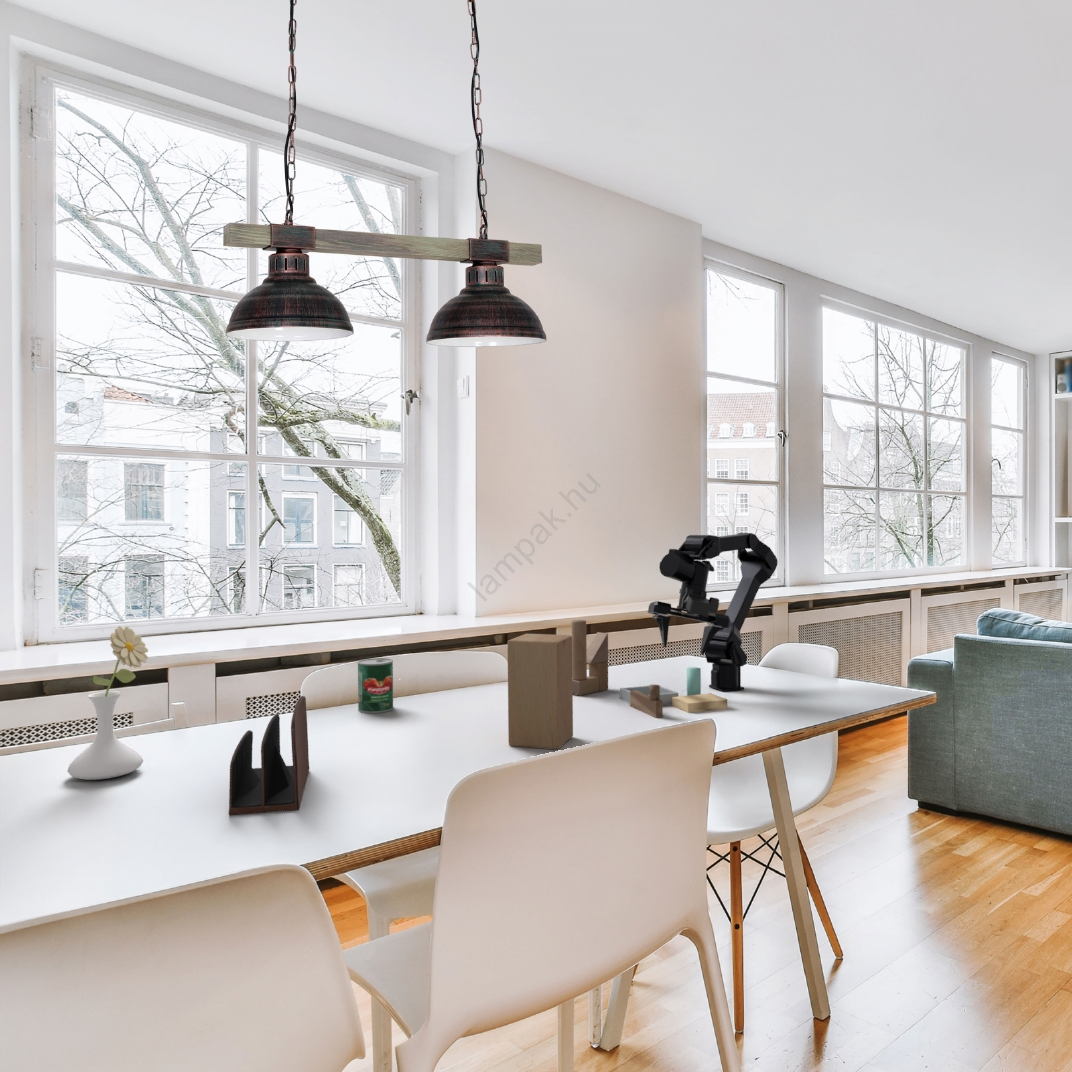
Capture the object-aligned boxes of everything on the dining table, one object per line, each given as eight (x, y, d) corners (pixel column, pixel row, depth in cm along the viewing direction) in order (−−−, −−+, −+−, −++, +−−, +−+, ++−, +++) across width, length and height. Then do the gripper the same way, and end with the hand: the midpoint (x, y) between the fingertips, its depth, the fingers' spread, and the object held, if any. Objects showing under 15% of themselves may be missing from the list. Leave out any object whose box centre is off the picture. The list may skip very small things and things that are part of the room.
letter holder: (309, 771, 141) (308, 689, 140) (299, 811, 121) (297, 716, 121) (248, 775, 139) (247, 692, 138) (228, 817, 119) (226, 720, 119)
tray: (657, 695, 198) (657, 684, 198) (678, 703, 188) (678, 692, 188) (619, 698, 194) (619, 688, 194) (639, 707, 185) (639, 696, 185)
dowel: (696, 696, 196) (695, 666, 196) (703, 698, 193) (703, 669, 193) (684, 697, 195) (684, 667, 195) (691, 699, 192) (691, 670, 192)
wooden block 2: (608, 689, 205) (608, 617, 205) (579, 696, 197) (579, 621, 197) (597, 687, 208) (597, 616, 207) (568, 694, 200) (568, 620, 200)
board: (710, 704, 190) (710, 693, 189) (727, 710, 183) (727, 699, 183) (672, 708, 186) (672, 697, 186) (687, 714, 180) (687, 703, 180)
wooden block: (573, 736, 161) (572, 634, 160) (558, 750, 151) (557, 642, 151) (525, 733, 164) (524, 633, 163) (507, 746, 154) (506, 640, 154)
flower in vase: (91, 790, 131) (88, 634, 131) (53, 779, 137) (50, 629, 137) (166, 768, 142) (163, 625, 142) (127, 759, 148) (125, 621, 148)
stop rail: (637, 705, 187) (637, 677, 187) (663, 717, 176) (663, 686, 176) (629, 706, 186) (628, 677, 186) (654, 718, 175) (654, 687, 175)
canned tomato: (374, 714, 181) (373, 665, 180) (350, 710, 185) (350, 661, 185) (400, 708, 187) (400, 660, 187) (377, 703, 192) (376, 656, 192)
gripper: (666, 575, 187) (654, 643, 185) (743, 591, 189) (733, 659, 186) (652, 579, 198) (641, 643, 195) (726, 594, 200) (716, 658, 197)
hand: (683, 650), depth 193 cm, fingers open, 9 cm apart
